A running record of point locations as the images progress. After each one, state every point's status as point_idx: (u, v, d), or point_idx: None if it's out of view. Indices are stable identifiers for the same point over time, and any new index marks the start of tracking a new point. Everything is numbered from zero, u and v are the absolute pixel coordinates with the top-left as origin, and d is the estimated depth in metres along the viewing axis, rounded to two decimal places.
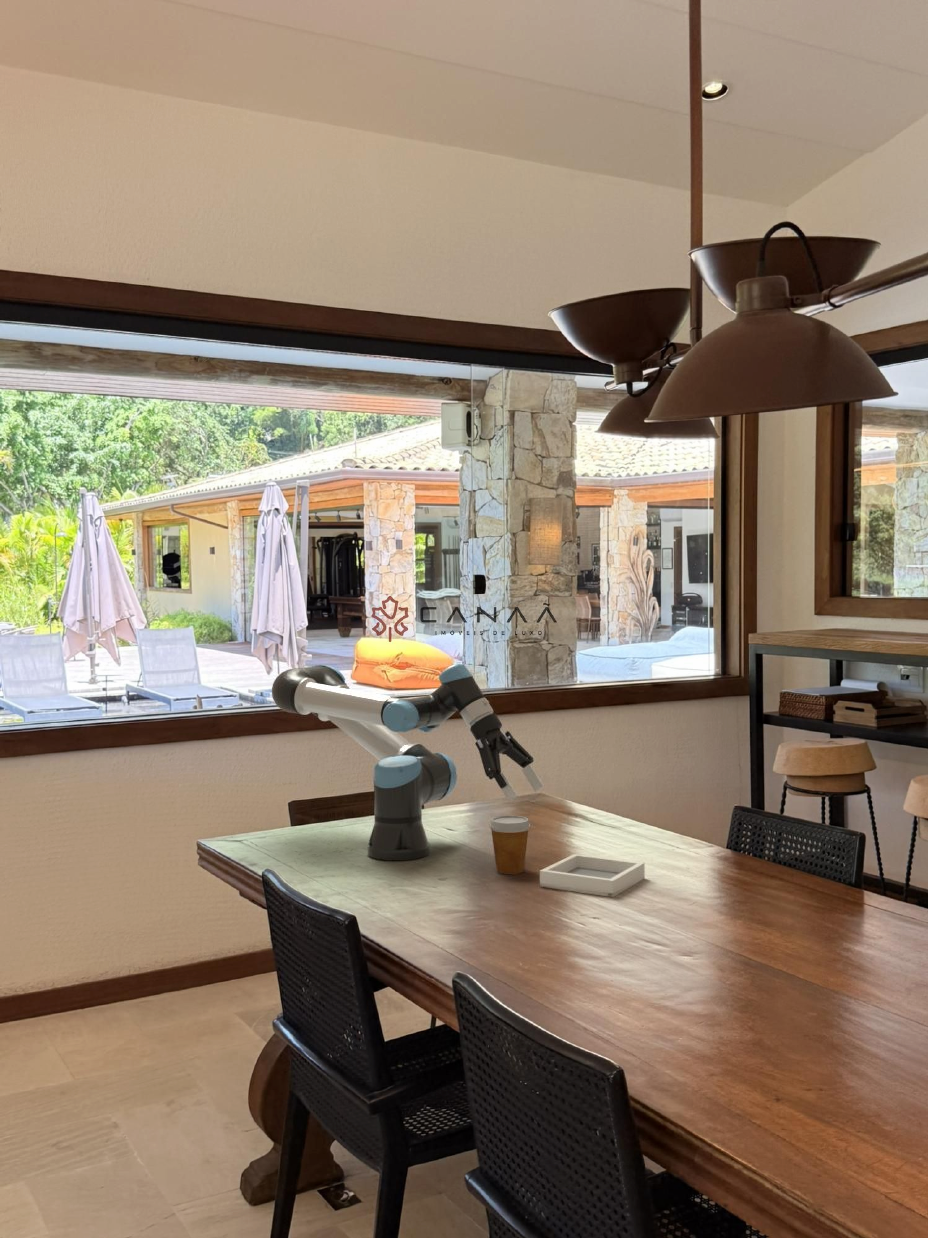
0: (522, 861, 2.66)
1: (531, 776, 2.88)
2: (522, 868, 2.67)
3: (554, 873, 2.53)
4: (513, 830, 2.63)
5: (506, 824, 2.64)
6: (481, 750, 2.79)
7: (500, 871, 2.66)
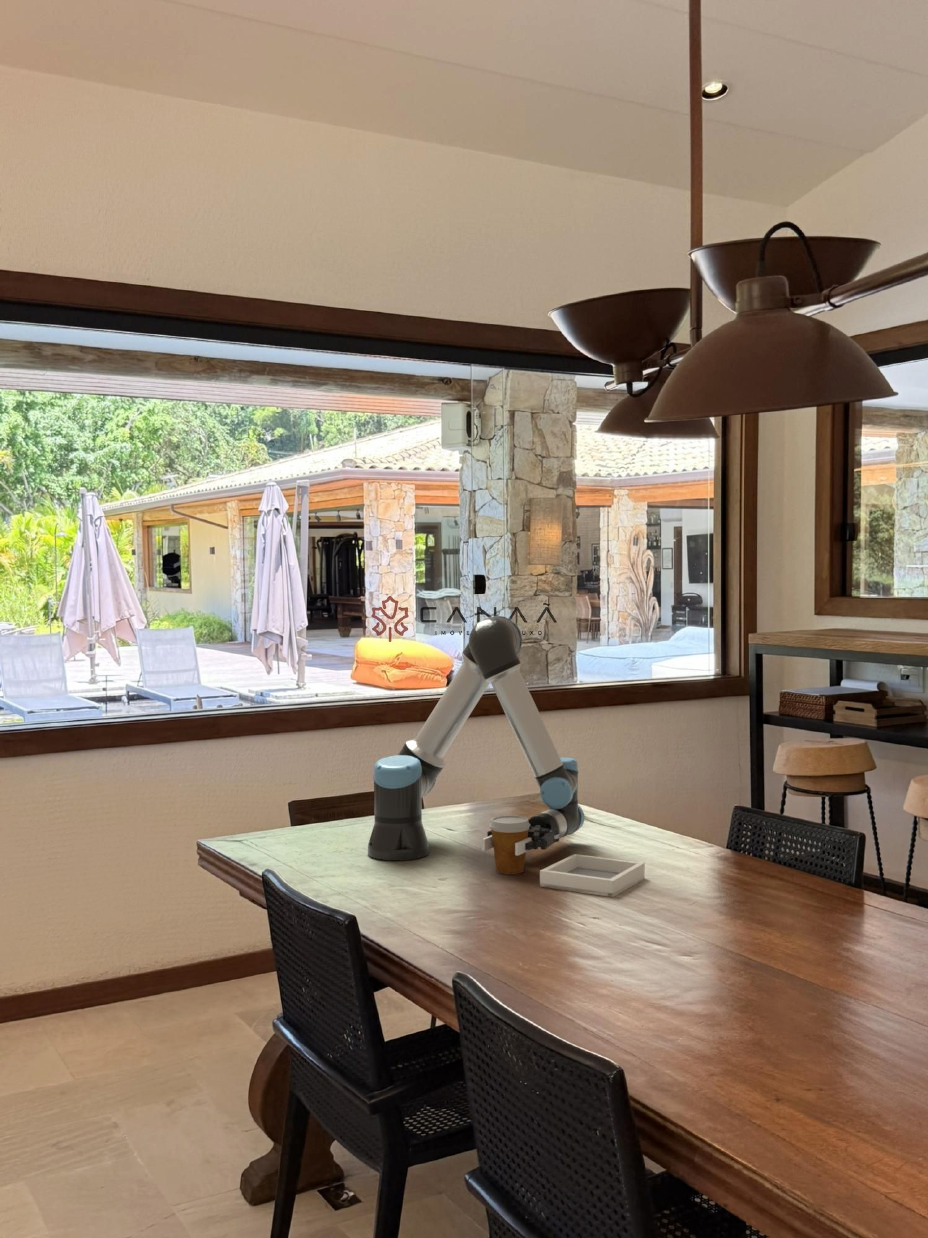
0: (522, 861, 2.66)
1: (492, 842, 2.69)
2: (522, 868, 2.67)
3: (554, 873, 2.53)
4: (513, 830, 2.63)
5: (506, 824, 2.64)
6: (553, 836, 2.73)
7: (500, 871, 2.66)
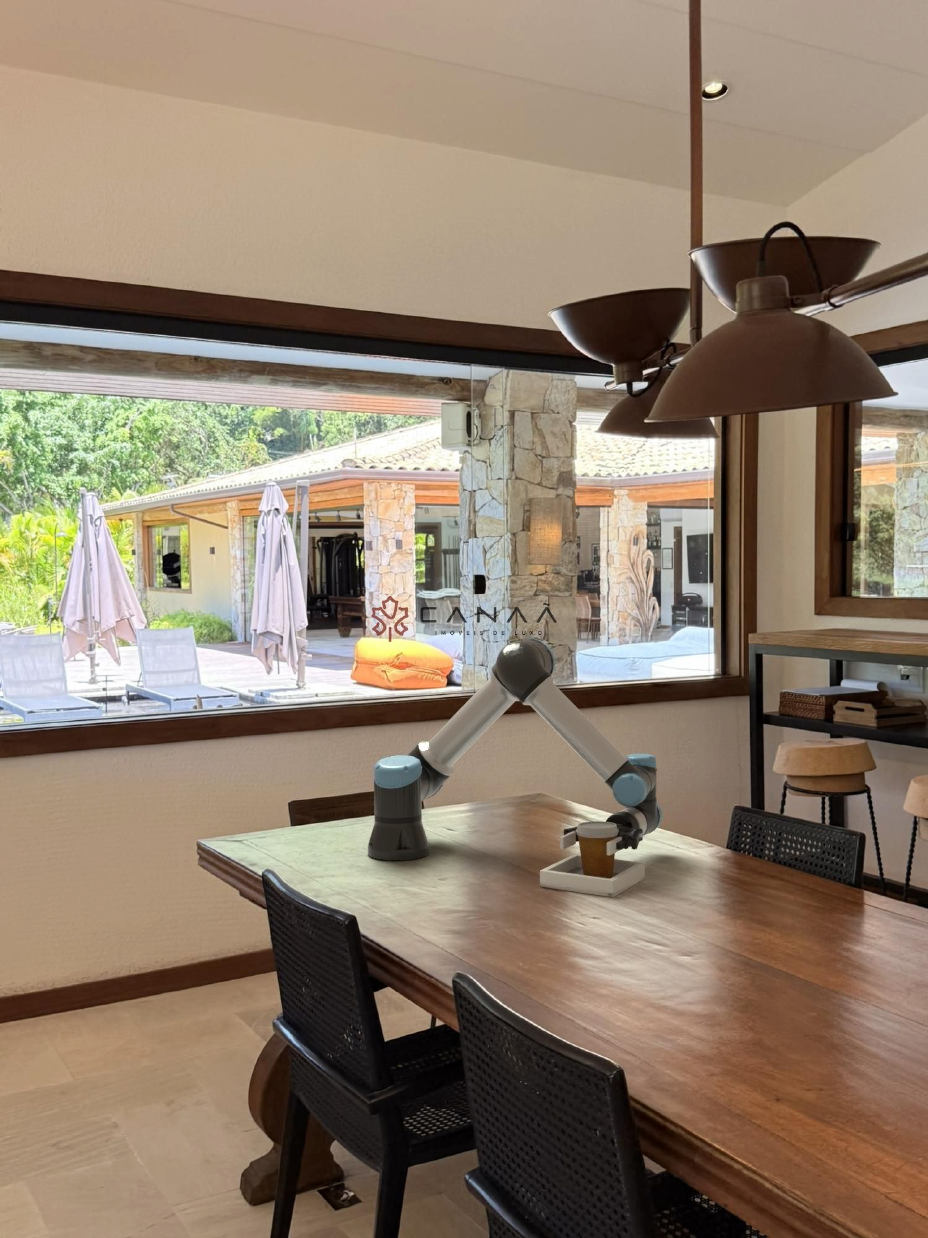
0: (611, 868, 2.55)
1: (570, 840, 2.59)
2: (611, 875, 2.55)
3: (554, 873, 2.53)
4: (602, 835, 2.52)
5: (595, 829, 2.53)
6: (639, 835, 2.62)
7: None
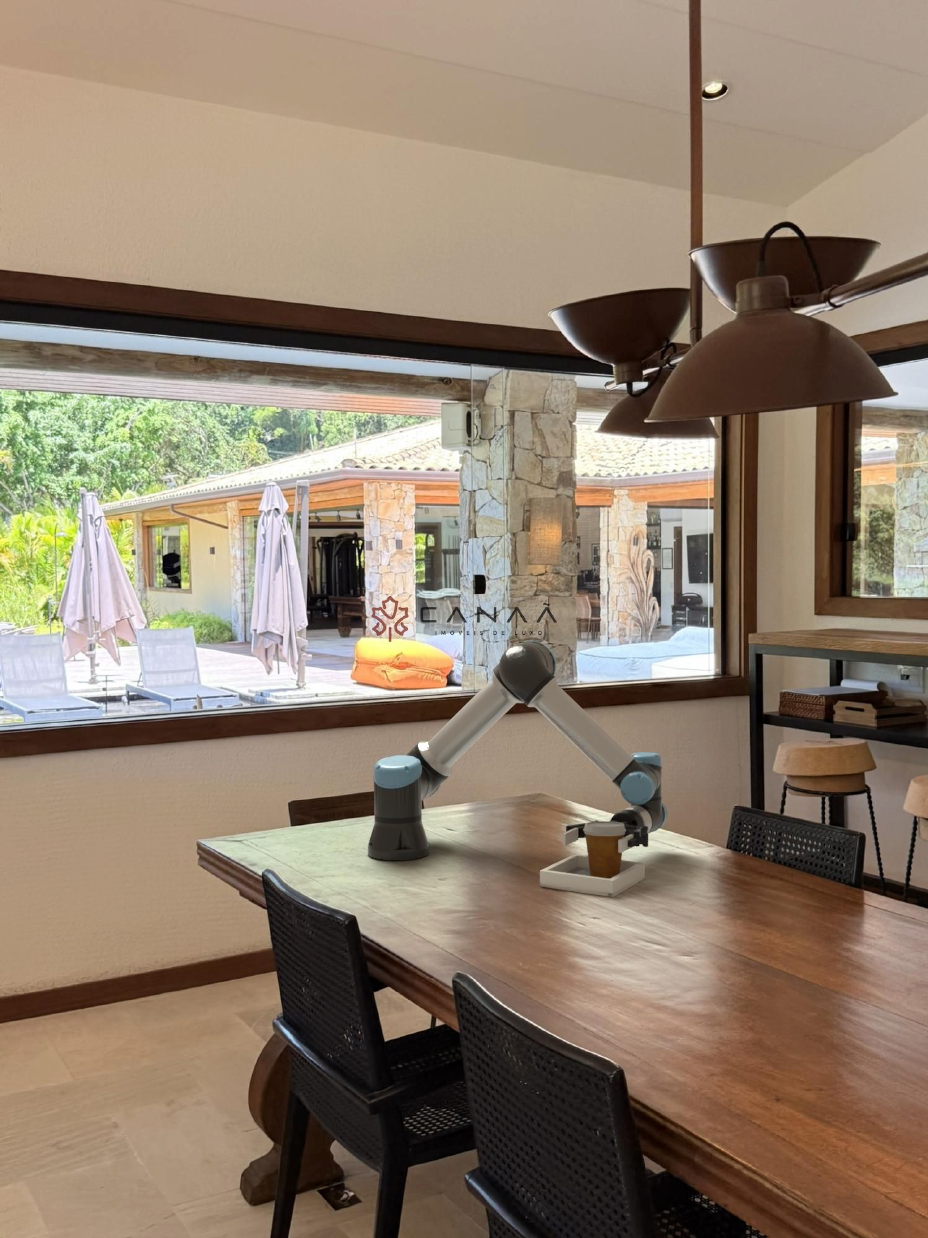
0: (619, 867, 2.55)
1: (572, 837, 2.62)
2: None
3: (554, 873, 2.53)
4: (611, 834, 2.53)
5: (604, 827, 2.53)
6: None
7: None
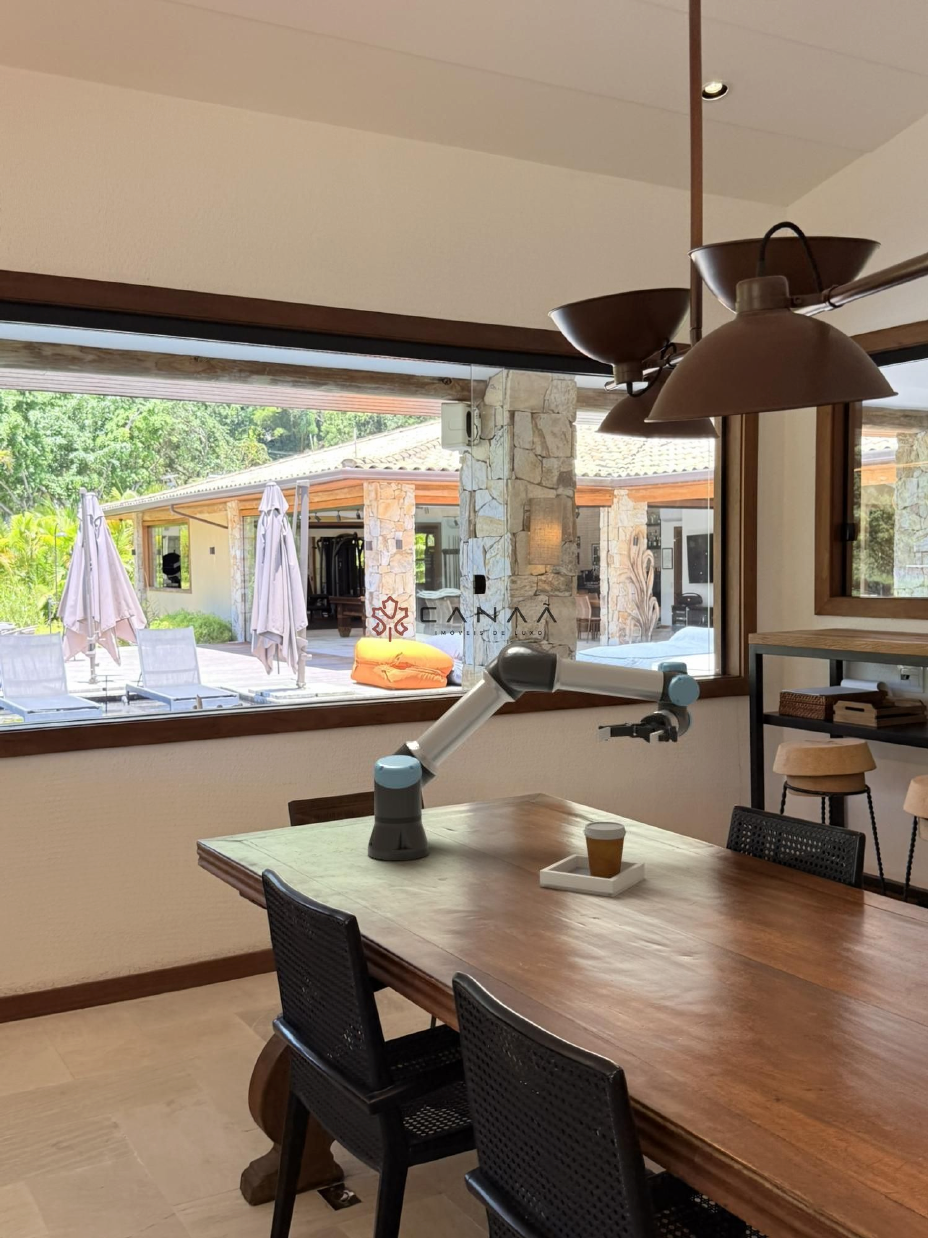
0: (619, 869, 2.55)
1: (605, 734, 2.78)
2: None
3: (554, 873, 2.53)
4: (611, 837, 2.52)
5: (604, 831, 2.52)
6: None
7: None
